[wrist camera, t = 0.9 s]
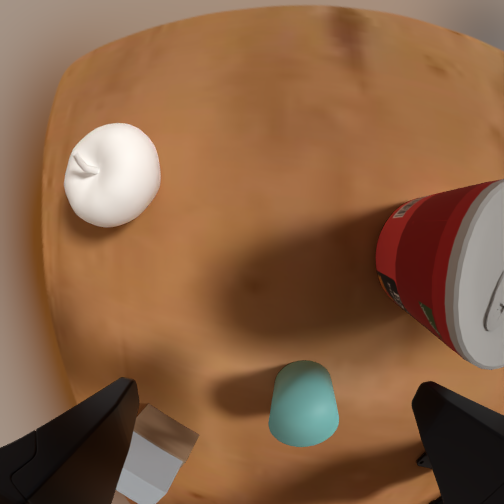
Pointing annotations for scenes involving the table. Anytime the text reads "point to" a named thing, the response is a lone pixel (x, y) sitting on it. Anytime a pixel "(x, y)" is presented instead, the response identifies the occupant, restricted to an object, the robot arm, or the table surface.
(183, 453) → the walnut block
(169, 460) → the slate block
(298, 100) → the table surface
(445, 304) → the canned food
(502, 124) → the table surface
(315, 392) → the teal cylinder
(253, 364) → the table surface
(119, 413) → the robot arm
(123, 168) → the plain white apple
